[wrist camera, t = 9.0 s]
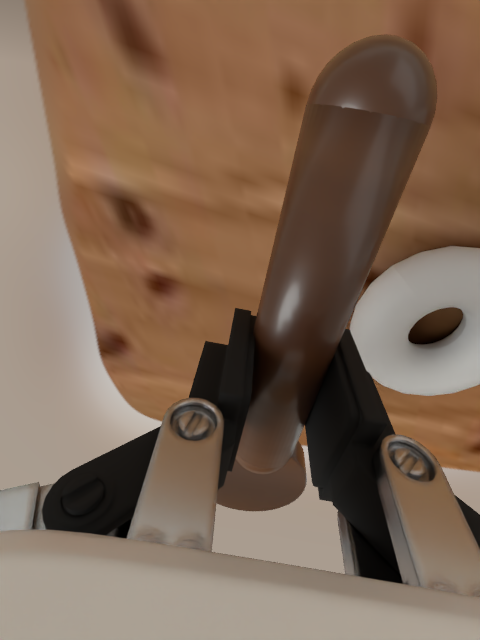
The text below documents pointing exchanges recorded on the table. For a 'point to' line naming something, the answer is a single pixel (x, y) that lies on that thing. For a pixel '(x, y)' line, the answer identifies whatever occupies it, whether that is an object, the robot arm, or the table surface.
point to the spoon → (327, 248)
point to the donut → (411, 305)
